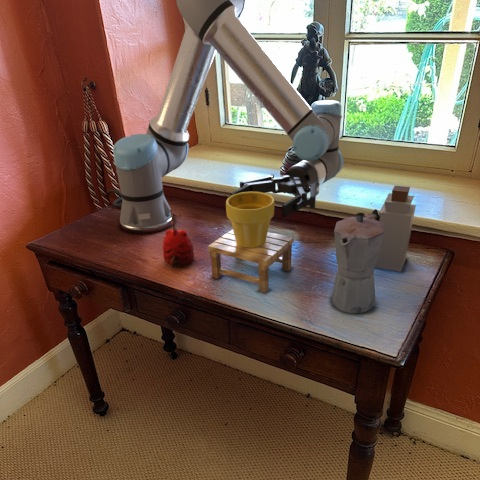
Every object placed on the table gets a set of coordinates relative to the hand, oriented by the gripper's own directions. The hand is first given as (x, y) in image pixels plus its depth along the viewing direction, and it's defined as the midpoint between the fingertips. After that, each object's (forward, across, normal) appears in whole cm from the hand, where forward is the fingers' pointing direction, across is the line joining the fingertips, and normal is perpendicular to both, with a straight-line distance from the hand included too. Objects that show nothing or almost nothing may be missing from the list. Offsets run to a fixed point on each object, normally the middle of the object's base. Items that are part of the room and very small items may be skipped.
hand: (256, 205), depth 100 cm
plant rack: (+3, 0, -16) cm, 16 cm away
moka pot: (+1, -25, -16) cm, 30 cm away
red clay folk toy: (+8, +18, -16) cm, 25 cm away
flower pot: (+3, 0, -8) cm, 8 cm away
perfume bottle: (-18, -25, -16) cm, 35 cm away
